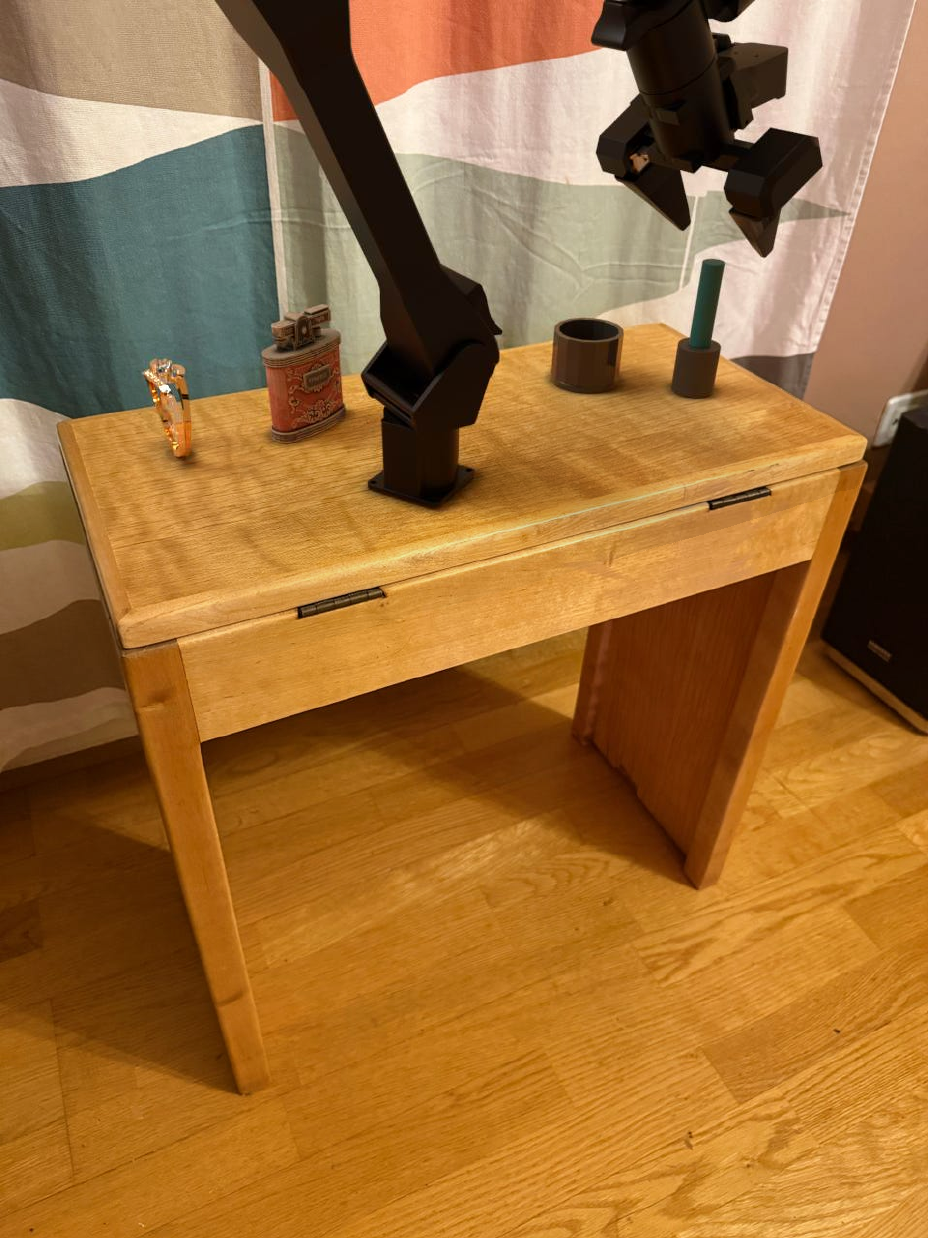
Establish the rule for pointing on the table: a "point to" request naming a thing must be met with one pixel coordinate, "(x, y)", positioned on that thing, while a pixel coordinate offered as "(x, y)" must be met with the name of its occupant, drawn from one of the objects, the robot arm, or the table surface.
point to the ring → (171, 403)
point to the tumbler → (586, 355)
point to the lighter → (304, 375)
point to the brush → (700, 338)
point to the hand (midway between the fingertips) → (725, 239)
